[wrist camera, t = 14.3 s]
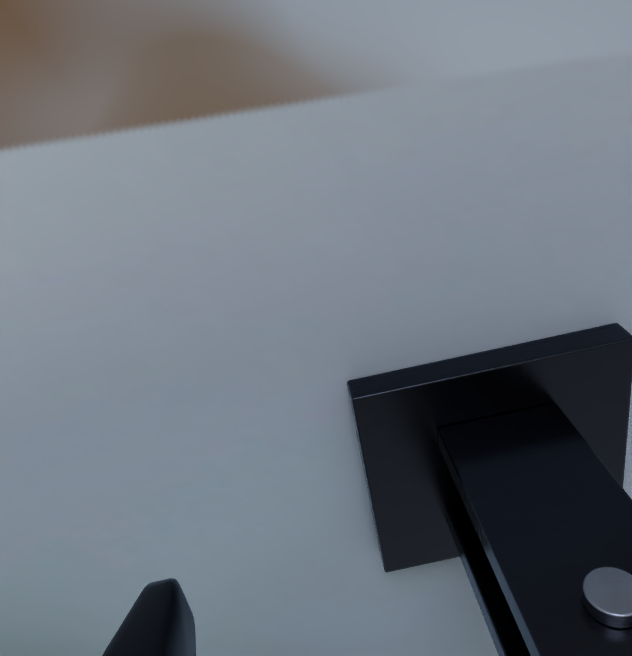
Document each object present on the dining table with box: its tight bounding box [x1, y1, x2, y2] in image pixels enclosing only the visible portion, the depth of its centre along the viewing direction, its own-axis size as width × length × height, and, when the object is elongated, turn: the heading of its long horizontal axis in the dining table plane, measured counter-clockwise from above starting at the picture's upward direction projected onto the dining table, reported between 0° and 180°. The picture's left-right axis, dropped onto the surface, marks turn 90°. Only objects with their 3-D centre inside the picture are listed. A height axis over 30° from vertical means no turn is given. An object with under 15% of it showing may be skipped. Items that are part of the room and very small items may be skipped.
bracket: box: [347, 323, 632, 656], centre depth 19 cm, size 10×9×11 cm
